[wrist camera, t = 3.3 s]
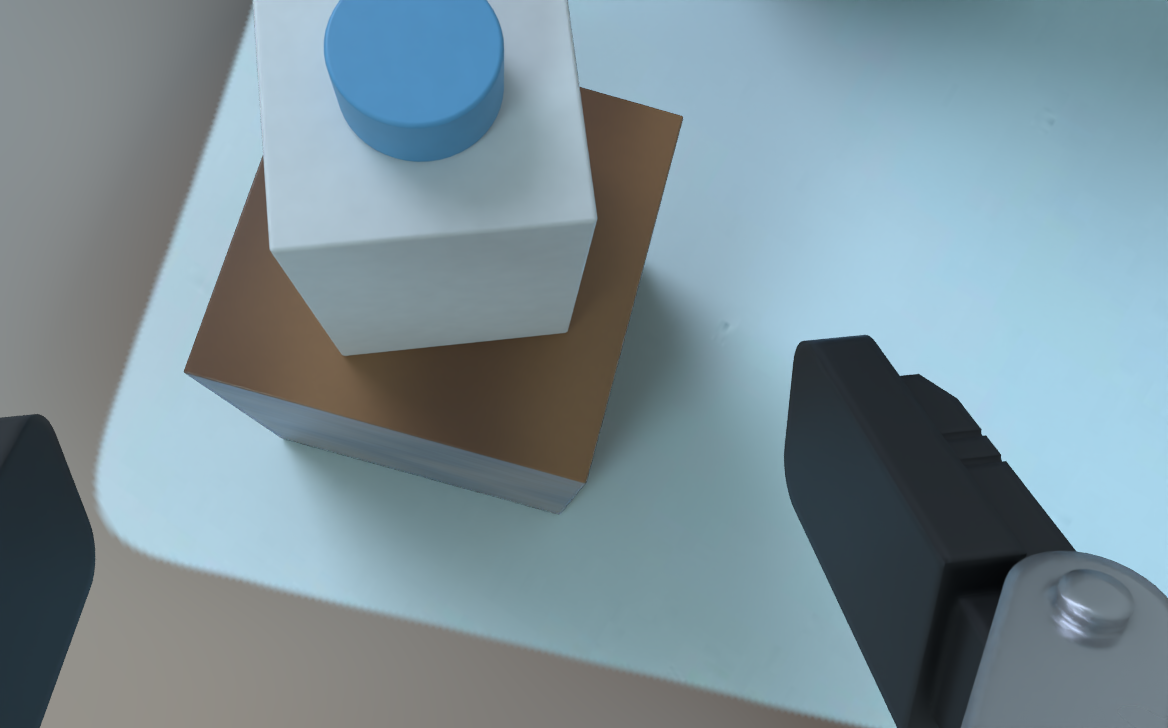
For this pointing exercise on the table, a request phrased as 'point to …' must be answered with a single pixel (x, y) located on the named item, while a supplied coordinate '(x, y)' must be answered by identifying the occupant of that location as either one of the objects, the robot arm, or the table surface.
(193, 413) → the table surface
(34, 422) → the robot arm
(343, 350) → the white box
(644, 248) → the brown box
